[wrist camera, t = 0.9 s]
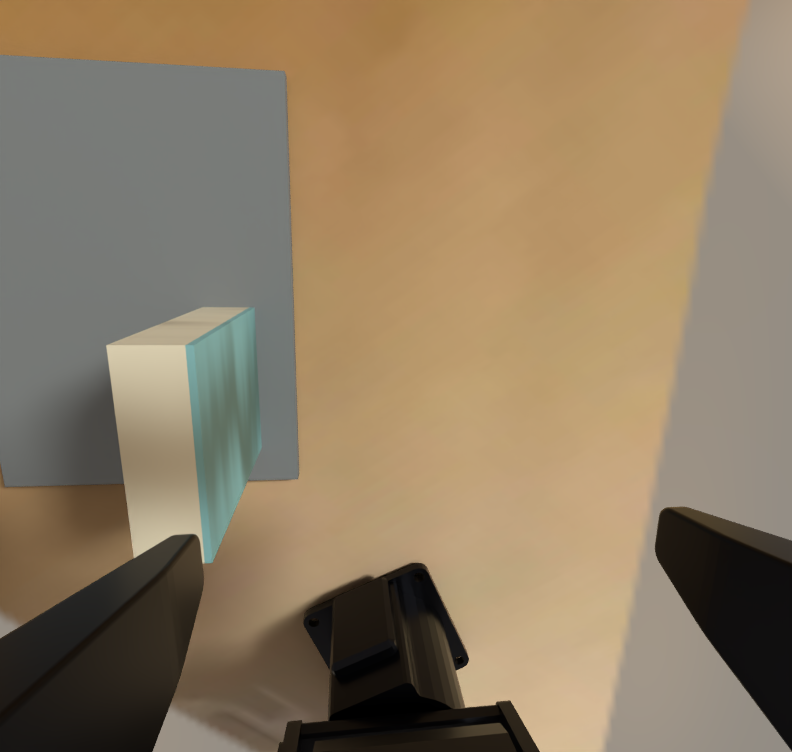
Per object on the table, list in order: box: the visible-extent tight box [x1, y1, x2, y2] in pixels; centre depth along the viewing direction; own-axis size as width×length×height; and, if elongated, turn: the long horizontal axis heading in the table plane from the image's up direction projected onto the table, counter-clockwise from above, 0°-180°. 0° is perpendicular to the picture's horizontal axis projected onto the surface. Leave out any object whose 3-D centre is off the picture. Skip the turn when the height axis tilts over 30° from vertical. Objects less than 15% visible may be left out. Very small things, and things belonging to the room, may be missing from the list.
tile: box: [106, 307, 262, 563], centre depth 16 cm, size 6×2×8 cm, turn 179°
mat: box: [0, 55, 299, 487], centre depth 19 cm, size 16×12×1 cm
